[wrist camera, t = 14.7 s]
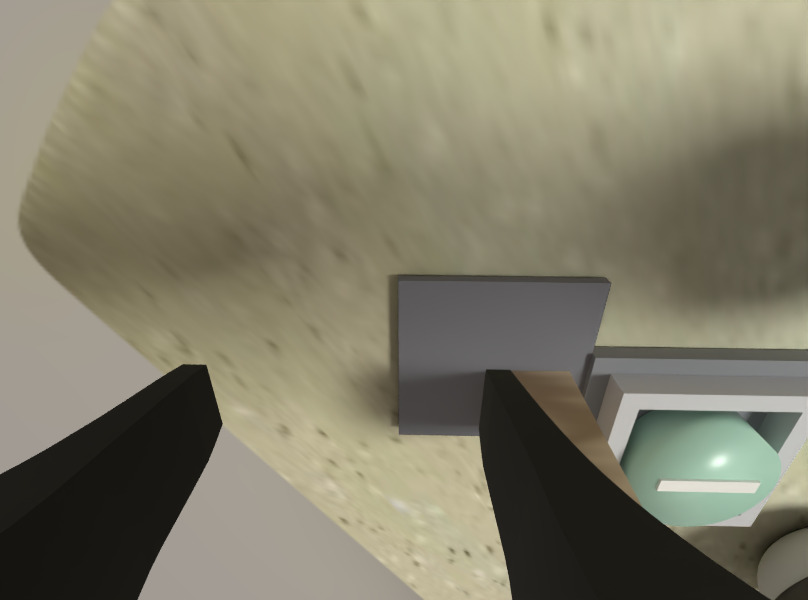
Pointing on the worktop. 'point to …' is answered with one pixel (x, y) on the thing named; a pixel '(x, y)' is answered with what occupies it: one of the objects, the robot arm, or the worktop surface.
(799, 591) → the pump dispenser
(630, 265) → the worktop surface
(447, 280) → the mat
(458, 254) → the worktop surface
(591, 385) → the switch panel
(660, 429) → the button
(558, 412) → the wooden rectangular block
